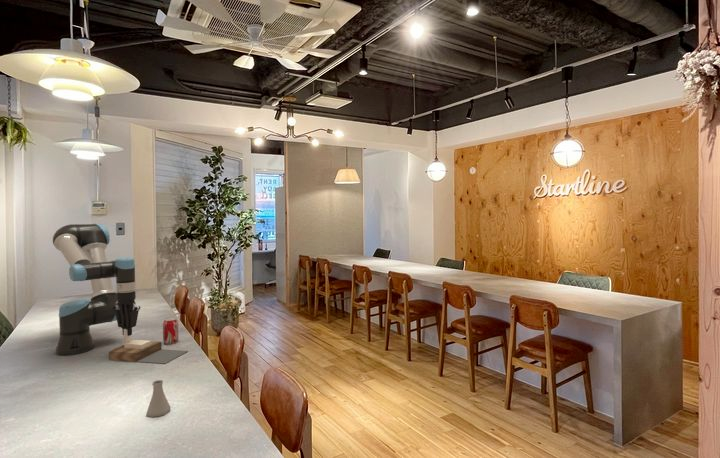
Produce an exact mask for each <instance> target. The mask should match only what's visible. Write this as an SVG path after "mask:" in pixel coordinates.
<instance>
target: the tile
mask: <svg viewBox="0 0 720 458" xmlns="http://www.w3.org/2000/svg"><path fill="white" fill-rule="evenodd" d="M151 341H152V340H145V339H133V340H132V339H131V341H130V342H127V343H123V345H124V348H131V349H143V348H146V347H148V346H150V345H151Z"/></svg>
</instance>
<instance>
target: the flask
mask: <svg viewBox="0 0 720 458" xmlns="http://www.w3.org/2000/svg"><path fill="white" fill-rule="evenodd" d="M151 383H152V384H151V385H152V386H153V387H152V388H153V390H152V395H151V399H150V402H149V404H148V407H147V411H146V414H145V415H146V417H150V418H151V417H153V418H156V417H161V416H165V415H166V414H168V413H170V411H171V405H170V403H169V401H168V399H167V397H166V394H165V392H164V388H163V383H164V380H163V379H157V380H153V381H152V382H151Z"/></svg>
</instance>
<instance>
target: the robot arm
mask: <svg viewBox="0 0 720 458" xmlns="http://www.w3.org/2000/svg"><path fill="white" fill-rule="evenodd" d="M110 240H111V238H110V232H109V230H108V228H107V226H105V225H104V224H100V223H86V224H85V223H84V224H83V223H82V224H79V223H78V224H77V223H76V224H67V225H63V226H61V227H60V228H58V229H57V230H56V231H55V233H54V234H53V236H52V244H53V246H54V248H55V249H56V250H58V251H60V252H61V254H62V255H63V257H64V259H65V260H66V261H67V263H68V265H69V266H70V267H69V270H68V275H69V278H70V280H71V281H73V282H84V281H85V282H86V281H90V285H91V290H92V294H93V295H92V297H90V300H89V299H88V298H81V299H75V300H71V301H67V302H65V303H63V304H61V305H60V306H59V310H58V311H59V312H58V318H59V322H58V323H59V338H58V341H57V346H55V354H56V355H58V356H70V355H71V356H72V355H78V354H82V353H86V352H89V351H91V350H93V349H94V348H95V341H94V339H93V337H92V334H91V331H90V330H91V329H90V327H91V326H95V325H100V324H101V325H102V324H106V323H112V322H115V321H116V323H117V327H118V328H121V329H122V335H123V344H125V343H127V342H130V341H132V335H133V328H134V327H135V328H136V326H137V323H138V317H139V312H140V310H141V306H140V305H137V304H136V291H135V290H136V264H135V258H134V257H118V258H116V259H115V260H111V261H107V255H106V251H105V249H107V247H108V245H109V244H110ZM112 278H115V280H116V281H115V282H116V284H115V286H116V291H114V289H113V284H112V280H111V279H112Z"/></svg>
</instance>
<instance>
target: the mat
mask: <svg viewBox="0 0 720 458" xmlns="http://www.w3.org/2000/svg"><path fill="white" fill-rule="evenodd" d="M188 352H189V351H188V350H178V349H164V348H163V349H162V348H161V350H159V351H157V352H155V353H153V354H151V355H149V356H147V357H145V358H142V359H140V360H138V361H137V362H136V363H143V364H158V365H166V364H168V363H170V362H172V361H173V360H176V359H177V358H179V357H181V356H184V354H186V353H188Z"/></svg>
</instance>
